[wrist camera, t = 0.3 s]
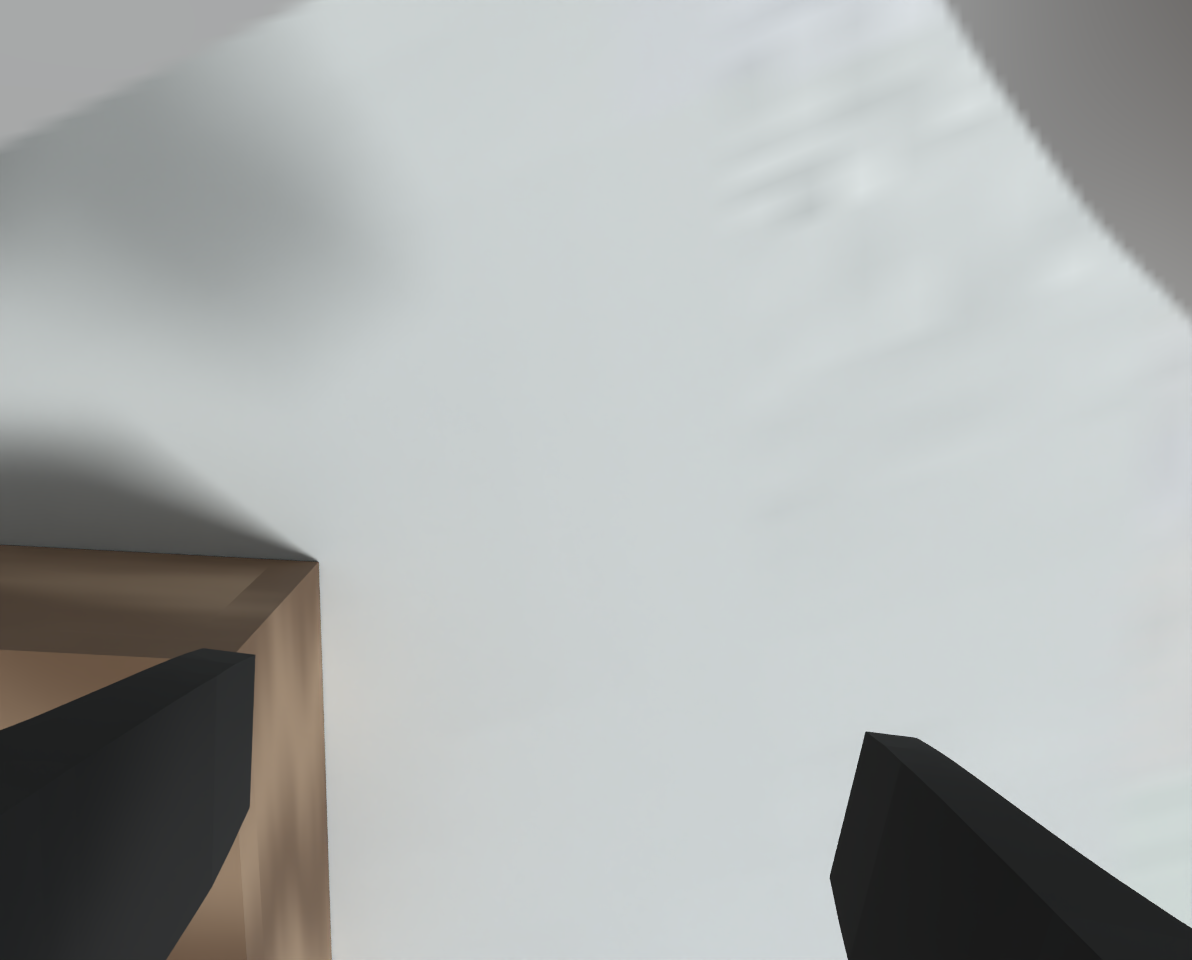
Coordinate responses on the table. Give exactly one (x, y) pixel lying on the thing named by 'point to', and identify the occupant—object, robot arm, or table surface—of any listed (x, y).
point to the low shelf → (164, 631)
